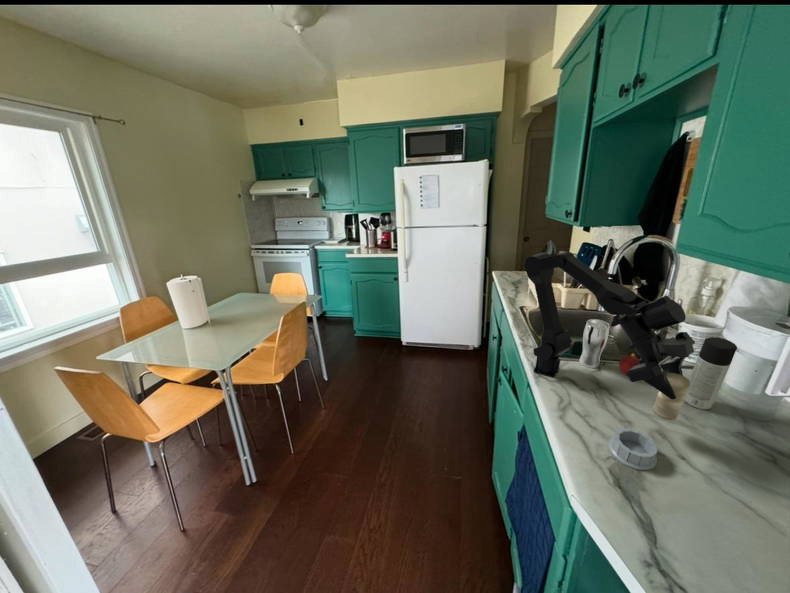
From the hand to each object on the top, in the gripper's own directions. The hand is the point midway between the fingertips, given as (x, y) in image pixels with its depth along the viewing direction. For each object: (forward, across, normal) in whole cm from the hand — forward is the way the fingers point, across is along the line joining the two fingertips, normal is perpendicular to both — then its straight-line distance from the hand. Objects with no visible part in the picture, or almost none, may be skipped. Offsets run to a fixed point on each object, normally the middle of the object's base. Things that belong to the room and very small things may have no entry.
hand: (679, 394), depth 86 cm
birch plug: (+4, 0, +6) cm, 7 cm away
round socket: (+8, -12, +11) cm, 18 cm away
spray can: (+9, +21, +10) cm, 25 cm away
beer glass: (-10, +15, +30) cm, 35 cm away
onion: (-3, +18, +22) cm, 29 cm away
